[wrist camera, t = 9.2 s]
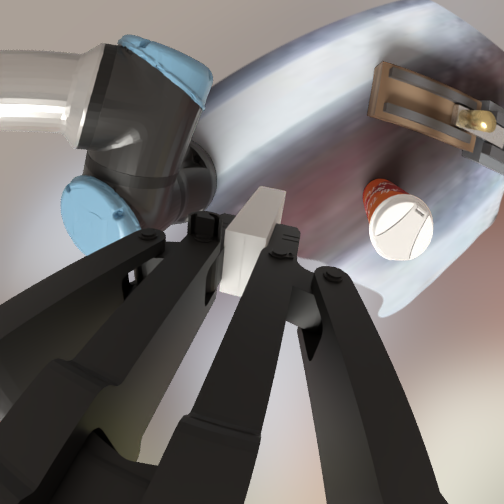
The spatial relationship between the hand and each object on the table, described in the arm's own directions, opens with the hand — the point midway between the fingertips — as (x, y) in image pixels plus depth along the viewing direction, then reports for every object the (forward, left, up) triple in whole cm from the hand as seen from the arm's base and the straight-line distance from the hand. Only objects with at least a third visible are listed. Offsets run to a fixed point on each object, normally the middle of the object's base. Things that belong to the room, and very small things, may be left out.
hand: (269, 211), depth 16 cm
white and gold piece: (+25, +12, -23) cm, 36 cm away
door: (+17, +12, -29) cm, 36 cm away
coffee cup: (+14, -4, -30) cm, 33 cm away
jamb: (+30, +12, -29) cm, 43 cm away
